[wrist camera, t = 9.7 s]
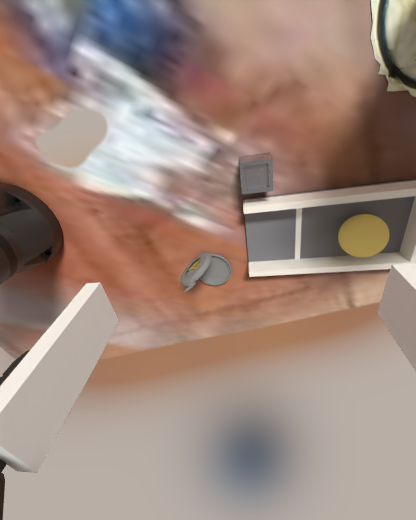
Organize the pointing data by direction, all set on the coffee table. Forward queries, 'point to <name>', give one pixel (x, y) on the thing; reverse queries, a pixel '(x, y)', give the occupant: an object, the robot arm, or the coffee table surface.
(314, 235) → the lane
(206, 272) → the pocket watch
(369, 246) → the ball
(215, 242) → the coffee table surface
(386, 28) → the decorative vase
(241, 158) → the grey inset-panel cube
